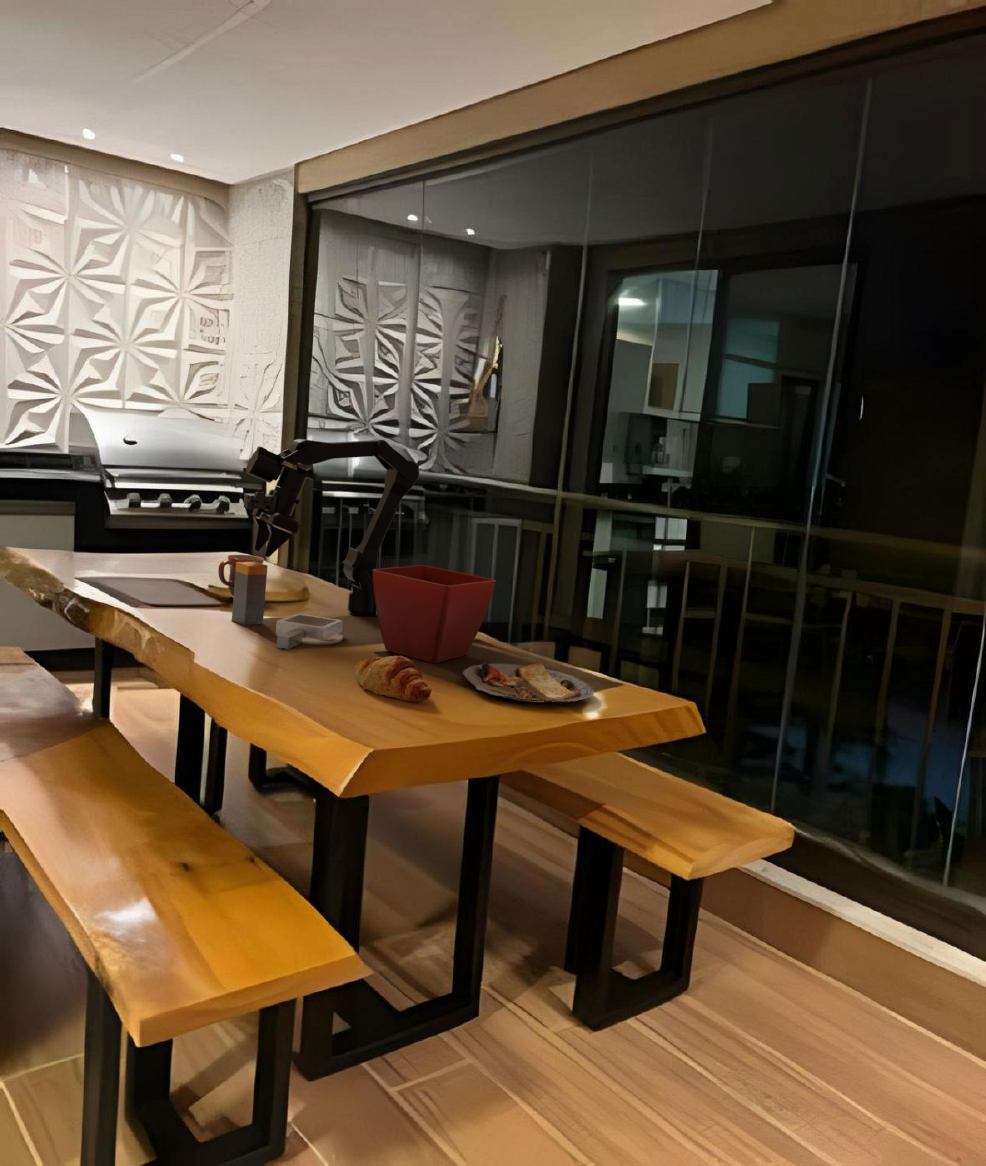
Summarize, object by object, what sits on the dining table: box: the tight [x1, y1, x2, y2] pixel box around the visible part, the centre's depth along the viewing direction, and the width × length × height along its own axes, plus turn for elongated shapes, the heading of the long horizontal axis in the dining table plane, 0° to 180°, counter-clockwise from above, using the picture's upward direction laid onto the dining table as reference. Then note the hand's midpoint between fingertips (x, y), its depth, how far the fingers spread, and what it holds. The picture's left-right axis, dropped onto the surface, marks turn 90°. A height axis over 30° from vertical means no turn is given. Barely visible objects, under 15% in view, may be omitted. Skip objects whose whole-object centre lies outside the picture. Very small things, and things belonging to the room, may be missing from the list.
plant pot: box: [373, 564, 497, 664], centre depth 202 cm, size 19×19×17 cm
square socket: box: [275, 612, 344, 650], centre depth 202 cm, size 20×14×4 cm
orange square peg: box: [231, 562, 268, 626], centre depth 212 cm, size 5×5×13 cm
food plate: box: [461, 661, 595, 703], centre depth 182 cm, size 25×23×4 cm
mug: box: [217, 554, 265, 596], centre depth 238 cm, size 12×9×10 cm
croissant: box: [354, 655, 432, 703], centre depth 171 cm, size 21×10×8 cm, turn 43°
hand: (261, 553), depth 224 cm, fingers open, 9 cm apart
